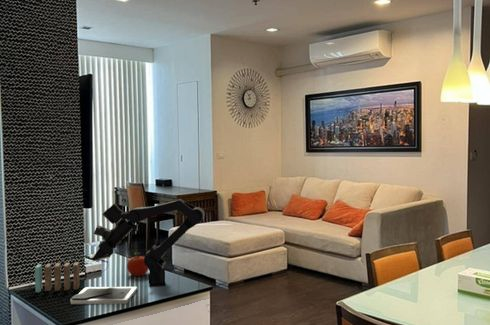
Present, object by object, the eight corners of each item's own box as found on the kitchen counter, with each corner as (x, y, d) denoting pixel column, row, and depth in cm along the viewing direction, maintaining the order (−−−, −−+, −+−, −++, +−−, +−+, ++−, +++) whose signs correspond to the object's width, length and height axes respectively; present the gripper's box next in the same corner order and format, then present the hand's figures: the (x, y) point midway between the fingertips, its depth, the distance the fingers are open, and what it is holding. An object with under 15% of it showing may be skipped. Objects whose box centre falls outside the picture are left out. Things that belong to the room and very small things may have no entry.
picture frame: (70, 305, 173) (127, 305, 173) (70, 298, 173) (126, 298, 173) (85, 292, 189) (137, 291, 188) (85, 285, 188) (137, 284, 188)
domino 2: (51, 287, 193) (51, 263, 192) (49, 291, 188) (48, 266, 187) (47, 288, 192) (47, 263, 192) (45, 291, 188) (44, 266, 187)
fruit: (130, 279, 204) (130, 256, 203) (124, 274, 212) (124, 252, 212) (152, 275, 209) (151, 253, 208) (145, 271, 217) (144, 249, 216)
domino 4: (70, 286, 194) (69, 262, 194) (68, 290, 189) (67, 265, 189) (66, 286, 194) (65, 262, 194) (64, 290, 189) (63, 265, 189)
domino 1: (42, 288, 192) (41, 264, 192) (39, 292, 187) (39, 267, 187) (38, 288, 192) (37, 264, 191) (35, 292, 187) (34, 267, 186)
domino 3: (61, 287, 194) (60, 263, 193) (59, 290, 189) (58, 266, 188) (57, 287, 193) (56, 263, 193) (54, 291, 188) (54, 266, 188)
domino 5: (79, 285, 195) (78, 261, 195) (77, 289, 190) (77, 265, 190) (75, 286, 195) (74, 262, 194) (73, 289, 190) (73, 265, 189)
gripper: (107, 215, 203) (81, 242, 201) (103, 222, 185) (75, 251, 183) (126, 232, 205) (100, 259, 203) (124, 241, 187) (96, 270, 185)
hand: (93, 259), depth 193 cm, fingers closed
